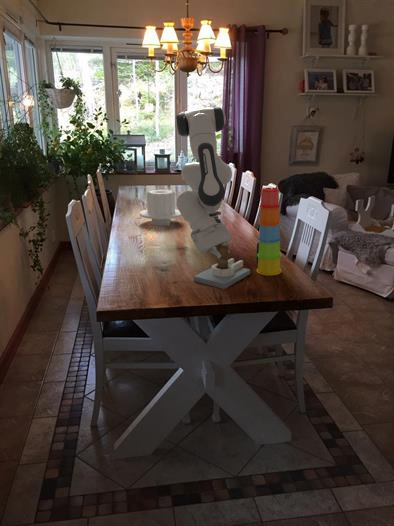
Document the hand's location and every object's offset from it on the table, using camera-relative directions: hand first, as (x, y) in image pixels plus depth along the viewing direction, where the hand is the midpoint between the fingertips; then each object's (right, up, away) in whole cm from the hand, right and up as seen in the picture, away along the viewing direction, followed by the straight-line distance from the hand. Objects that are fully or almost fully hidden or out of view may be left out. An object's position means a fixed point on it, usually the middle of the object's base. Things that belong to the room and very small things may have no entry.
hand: (224, 255), depth 172 cm
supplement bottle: (+18, -3, +21) cm, 28 cm away
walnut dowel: (-1, -5, +2) cm, 6 cm away
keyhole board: (-1, -9, +3) cm, 9 cm away
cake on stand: (-32, +20, +88) cm, 96 cm away
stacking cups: (+19, -7, +10) cm, 23 cm away
